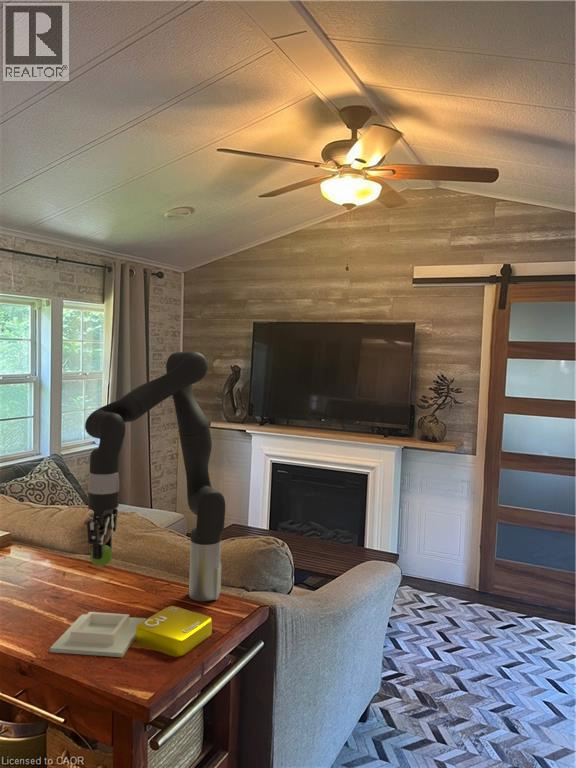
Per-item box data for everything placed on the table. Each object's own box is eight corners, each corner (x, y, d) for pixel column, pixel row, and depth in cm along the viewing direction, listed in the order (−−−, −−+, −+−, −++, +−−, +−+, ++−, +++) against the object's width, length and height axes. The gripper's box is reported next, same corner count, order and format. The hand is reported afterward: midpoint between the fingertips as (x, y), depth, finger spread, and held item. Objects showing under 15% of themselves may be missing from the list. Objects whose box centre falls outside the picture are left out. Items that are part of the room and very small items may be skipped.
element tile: (178, 659, 132) (179, 640, 132) (132, 643, 139) (132, 624, 139) (214, 633, 145) (215, 615, 145) (170, 619, 152) (170, 602, 152)
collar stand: (146, 621, 150) (146, 609, 149) (122, 657, 132) (122, 643, 131) (82, 617, 151) (82, 605, 150) (49, 652, 133) (50, 638, 133)
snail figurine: (119, 562, 143) (120, 517, 142) (101, 571, 137) (102, 524, 137) (104, 558, 145) (104, 514, 145) (85, 566, 140) (86, 520, 139)
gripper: (106, 497, 133) (105, 565, 133) (128, 483, 147) (126, 546, 148) (76, 495, 133) (75, 563, 134) (101, 482, 147) (99, 544, 148)
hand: (102, 554), depth 141 cm, fingers closed on snail figurine, 5 cm apart
